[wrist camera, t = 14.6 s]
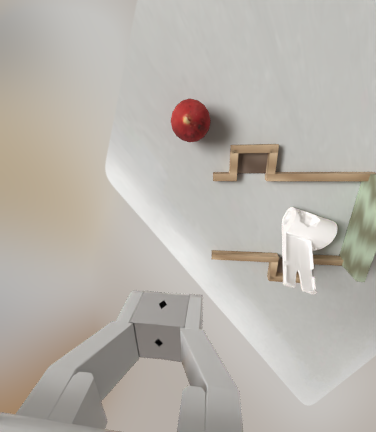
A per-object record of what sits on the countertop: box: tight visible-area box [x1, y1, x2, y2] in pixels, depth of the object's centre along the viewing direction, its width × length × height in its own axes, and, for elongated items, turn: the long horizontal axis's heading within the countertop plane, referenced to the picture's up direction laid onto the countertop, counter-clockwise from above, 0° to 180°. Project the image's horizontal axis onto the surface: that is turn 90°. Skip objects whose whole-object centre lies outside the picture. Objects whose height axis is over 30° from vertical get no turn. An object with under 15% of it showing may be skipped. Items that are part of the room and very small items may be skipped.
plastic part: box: [282, 207, 337, 294], centre depth 35 cm, size 8×10×12 cm
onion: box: [171, 99, 211, 142], centre depth 31 cm, size 6×6×8 cm
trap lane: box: [212, 144, 376, 283], centre depth 36 cm, size 27×26×6 cm
